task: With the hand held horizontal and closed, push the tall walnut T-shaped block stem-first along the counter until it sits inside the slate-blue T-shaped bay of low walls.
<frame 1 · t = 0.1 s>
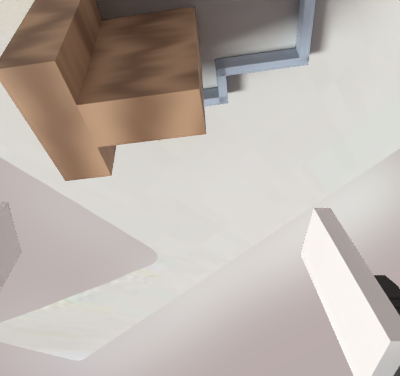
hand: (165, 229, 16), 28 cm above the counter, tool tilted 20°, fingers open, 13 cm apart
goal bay: (202, 28, 37), on the counter
tee block: (127, 38, 37), on the counter
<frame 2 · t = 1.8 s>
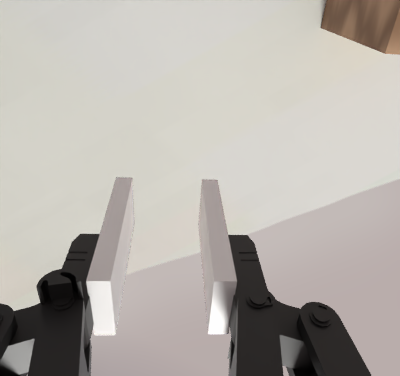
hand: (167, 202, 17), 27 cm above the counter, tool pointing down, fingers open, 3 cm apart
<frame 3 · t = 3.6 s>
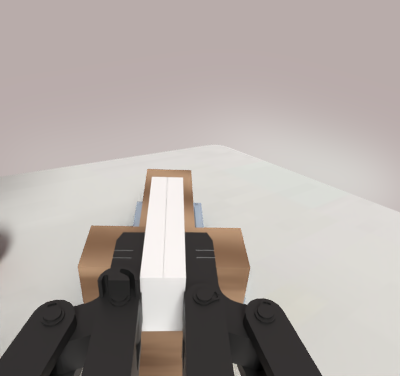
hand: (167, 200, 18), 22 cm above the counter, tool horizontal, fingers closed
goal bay: (167, 264, 44), on the counter
tee block: (165, 318, 37), on the counter
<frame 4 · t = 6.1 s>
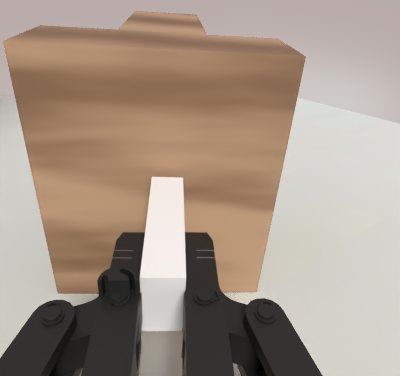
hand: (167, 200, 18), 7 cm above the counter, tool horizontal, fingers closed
tee block: (162, 226, 27), on the counter, touching gripper
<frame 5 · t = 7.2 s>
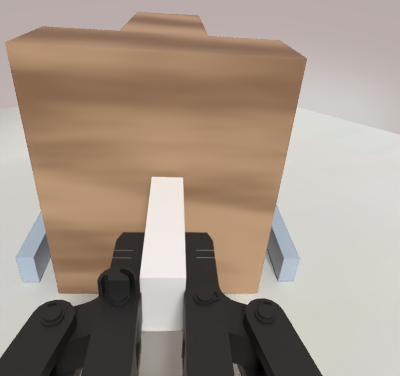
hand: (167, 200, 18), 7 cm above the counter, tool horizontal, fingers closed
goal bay: (164, 215, 28), on the counter
tee block: (163, 226, 27), on the counter, touching gripper
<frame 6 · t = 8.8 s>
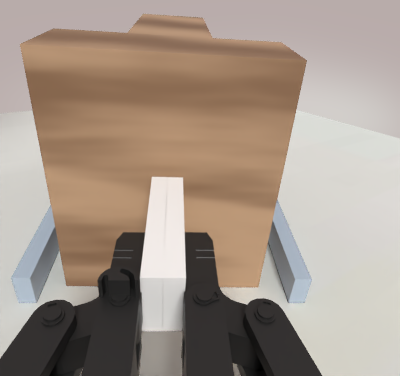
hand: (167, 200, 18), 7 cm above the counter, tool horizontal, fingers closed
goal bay: (168, 229, 27), on the counter
tee block: (167, 223, 28), on the counter
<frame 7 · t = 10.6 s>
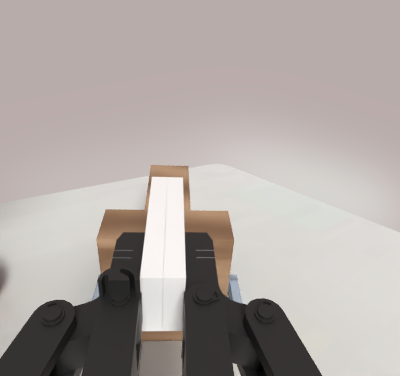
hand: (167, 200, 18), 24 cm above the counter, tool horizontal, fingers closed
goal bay: (168, 298, 43), on the counter
tee block: (167, 293, 44), on the counter
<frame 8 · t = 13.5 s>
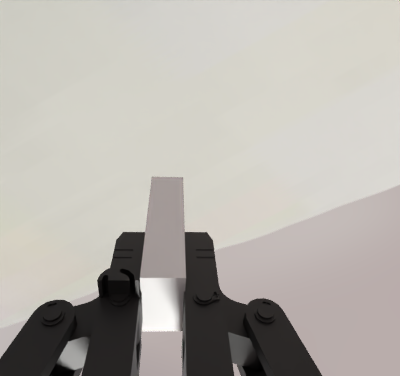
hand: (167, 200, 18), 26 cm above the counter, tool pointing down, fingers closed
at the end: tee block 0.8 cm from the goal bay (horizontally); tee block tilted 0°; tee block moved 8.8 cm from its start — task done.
